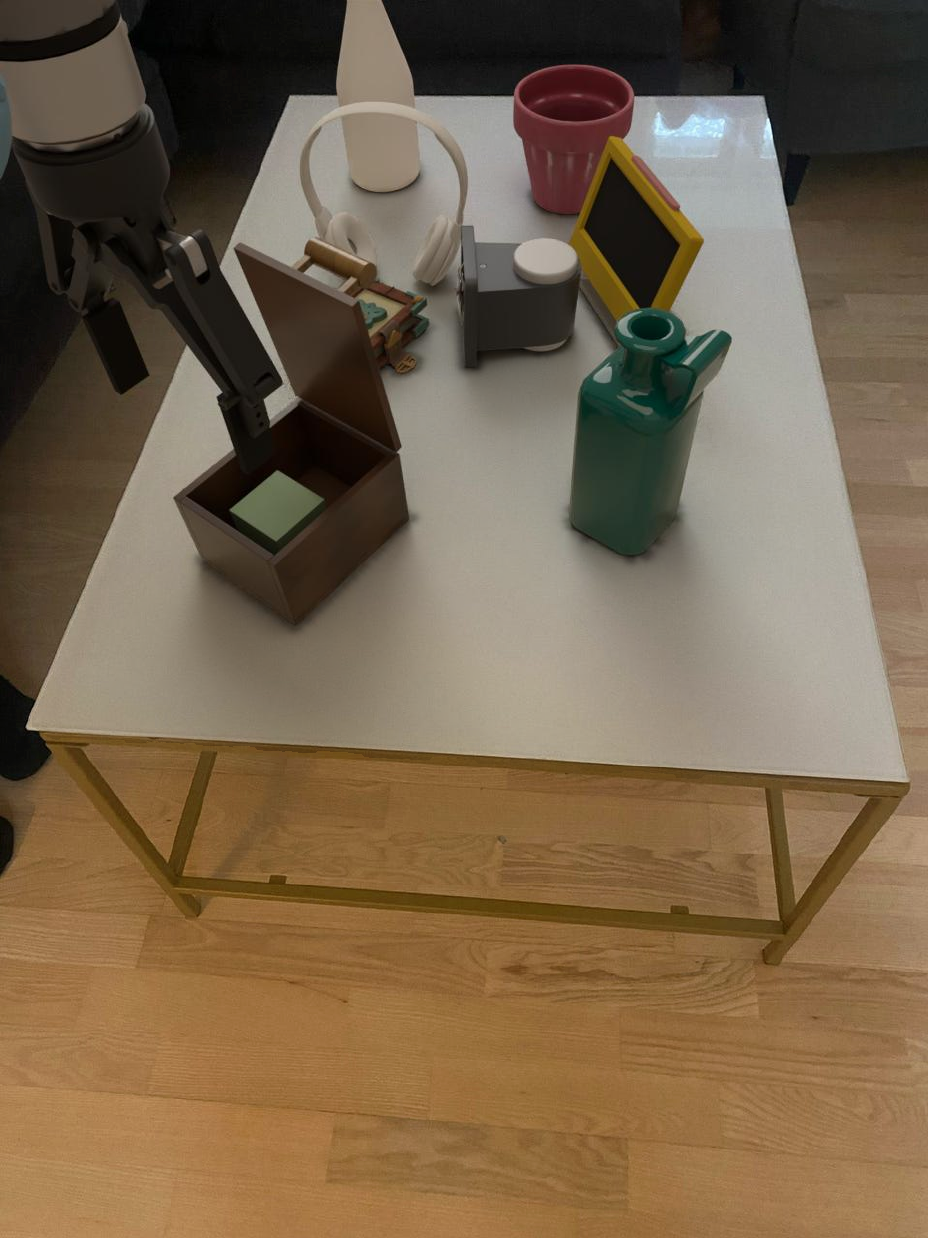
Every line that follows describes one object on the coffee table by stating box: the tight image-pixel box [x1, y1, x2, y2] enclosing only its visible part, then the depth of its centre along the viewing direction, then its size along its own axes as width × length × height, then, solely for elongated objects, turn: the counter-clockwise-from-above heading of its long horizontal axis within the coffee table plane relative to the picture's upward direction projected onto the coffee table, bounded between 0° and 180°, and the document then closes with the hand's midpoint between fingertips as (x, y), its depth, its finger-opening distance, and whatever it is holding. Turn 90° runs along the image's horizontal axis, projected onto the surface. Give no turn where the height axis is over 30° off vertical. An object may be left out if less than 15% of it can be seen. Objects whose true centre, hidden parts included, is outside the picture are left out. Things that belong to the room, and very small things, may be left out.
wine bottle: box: [335, 0, 421, 193], centre depth 109 cm, size 10×10×30 cm
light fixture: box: [454, 225, 582, 367], centre depth 97 cm, size 11×13×11 cm
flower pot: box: [512, 64, 635, 215], centre depth 111 cm, size 14×14×13 cm
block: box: [229, 470, 327, 556], centre depth 82 cm, size 6×6×6 cm
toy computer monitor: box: [567, 136, 705, 348], centre depth 96 cm, size 20×8×16 cm, turn 18°
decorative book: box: [350, 277, 430, 374], centre depth 98 cm, size 13×18×5 cm
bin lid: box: [232, 236, 403, 453], centre depth 75 cm, size 16×13×6 cm
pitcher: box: [568, 307, 733, 556], centre depth 76 cm, size 10×8×22 cm
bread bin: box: [172, 397, 410, 626], centre depth 82 cm, size 16×13×9 cm
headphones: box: [299, 102, 469, 287], centre depth 100 cm, size 7×18×20 cm, turn 82°
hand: (193, 420), depth 65 cm, fingers open, 13 cm apart
